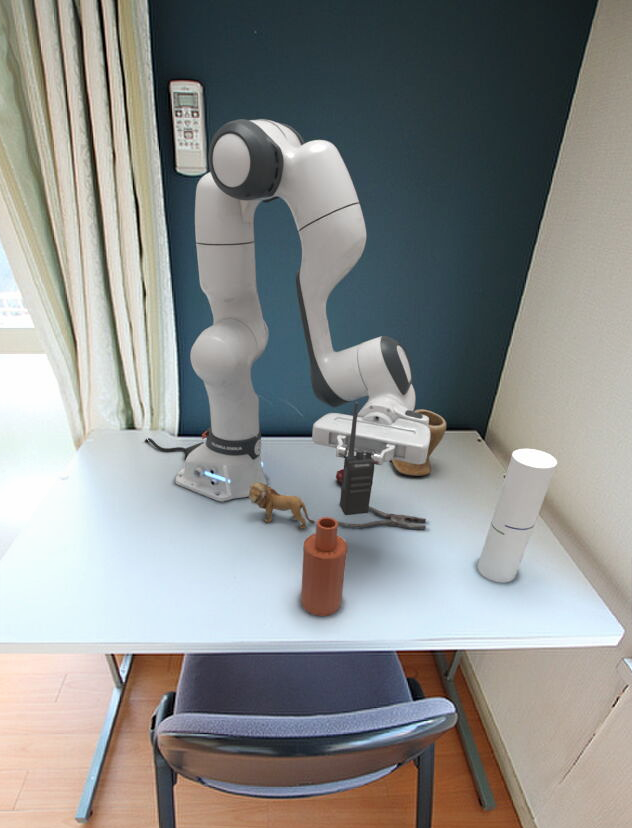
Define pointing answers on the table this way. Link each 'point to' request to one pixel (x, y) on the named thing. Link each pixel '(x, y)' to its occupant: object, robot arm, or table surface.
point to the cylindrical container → (516, 513)
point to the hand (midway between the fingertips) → (358, 457)
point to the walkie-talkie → (356, 477)
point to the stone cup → (436, 434)
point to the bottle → (323, 569)
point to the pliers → (390, 521)
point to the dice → (339, 476)
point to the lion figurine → (277, 502)
